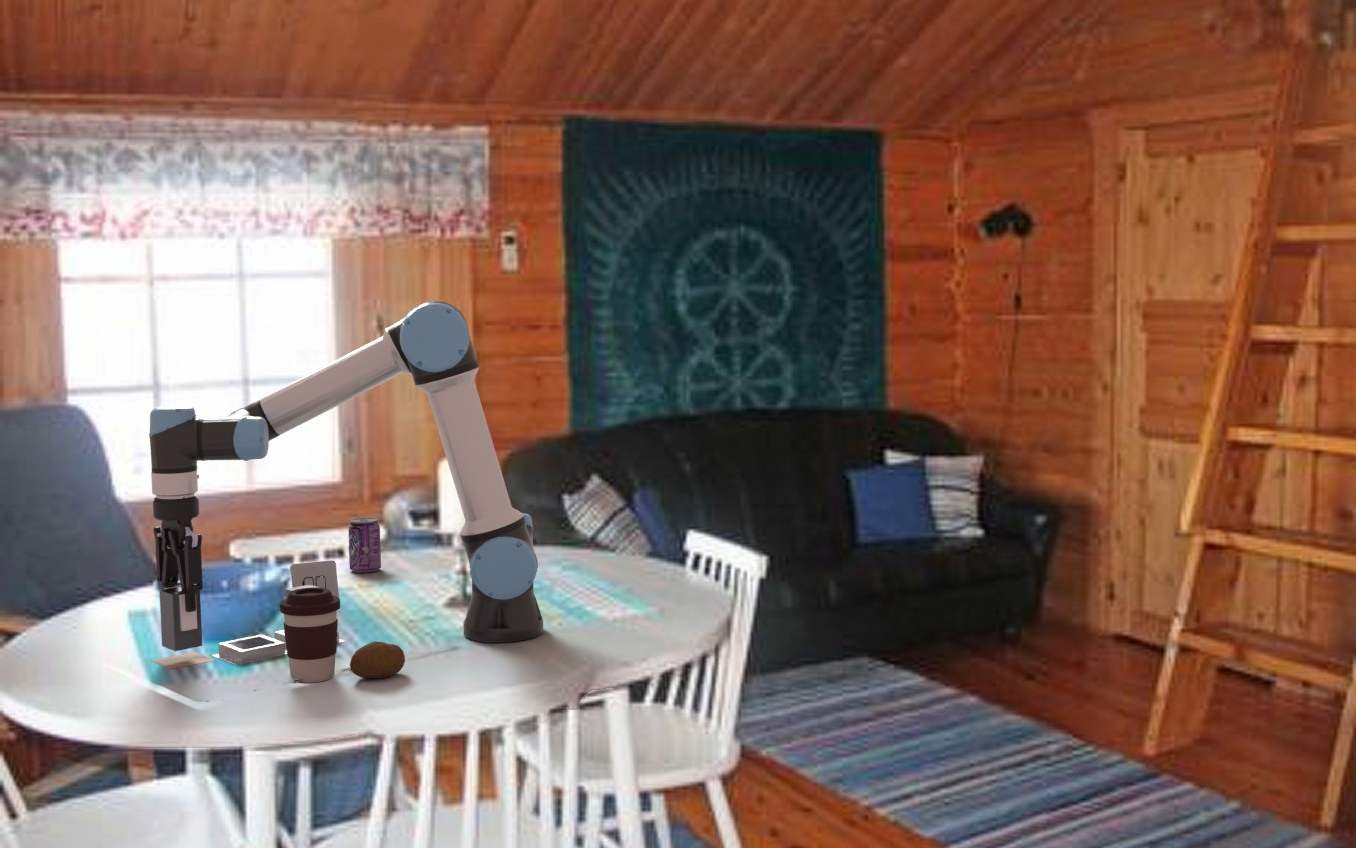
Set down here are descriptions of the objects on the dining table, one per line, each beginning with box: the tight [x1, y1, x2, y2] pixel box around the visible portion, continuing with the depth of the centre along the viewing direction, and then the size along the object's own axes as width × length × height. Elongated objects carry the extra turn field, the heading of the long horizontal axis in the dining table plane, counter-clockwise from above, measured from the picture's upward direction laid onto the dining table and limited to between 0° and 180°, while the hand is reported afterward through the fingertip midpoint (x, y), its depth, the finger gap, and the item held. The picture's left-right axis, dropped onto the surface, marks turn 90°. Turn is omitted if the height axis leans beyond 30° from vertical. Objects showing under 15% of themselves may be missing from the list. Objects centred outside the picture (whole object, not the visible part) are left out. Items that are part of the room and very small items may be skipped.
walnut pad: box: [151, 651, 216, 670], centre depth 250 cm, size 8×8×1 cm
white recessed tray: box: [211, 629, 346, 666], centre depth 258 cm, size 9×22×3 cm, turn 135°
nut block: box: [159, 586, 203, 652], centre depth 250 cm, size 5×5×10 cm
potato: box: [349, 640, 406, 679], centre depth 242 cm, size 7×10×6 cm
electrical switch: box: [289, 559, 340, 598], centre depth 295 cm, size 9×5×9 cm, turn 116°
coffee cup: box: [279, 587, 341, 684], centre depth 242 cm, size 10×10×15 cm
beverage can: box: [347, 516, 382, 574], centre depth 328 cm, size 7×7×12 cm
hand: (181, 626), depth 250 cm, fingers closed on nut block, 5 cm apart
